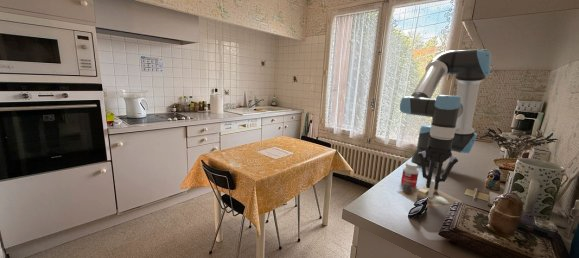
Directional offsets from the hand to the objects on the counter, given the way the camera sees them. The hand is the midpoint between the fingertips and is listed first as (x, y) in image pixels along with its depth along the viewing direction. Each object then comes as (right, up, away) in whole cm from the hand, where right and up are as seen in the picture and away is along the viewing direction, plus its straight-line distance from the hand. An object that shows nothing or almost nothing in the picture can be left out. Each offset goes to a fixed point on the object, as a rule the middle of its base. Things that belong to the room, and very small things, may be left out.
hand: (430, 196), depth 91 cm
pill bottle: (-1, 0, +15) cm, 15 cm away
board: (+1, -3, +4) cm, 5 cm away
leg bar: (+2, -1, +5) cm, 5 cm away
